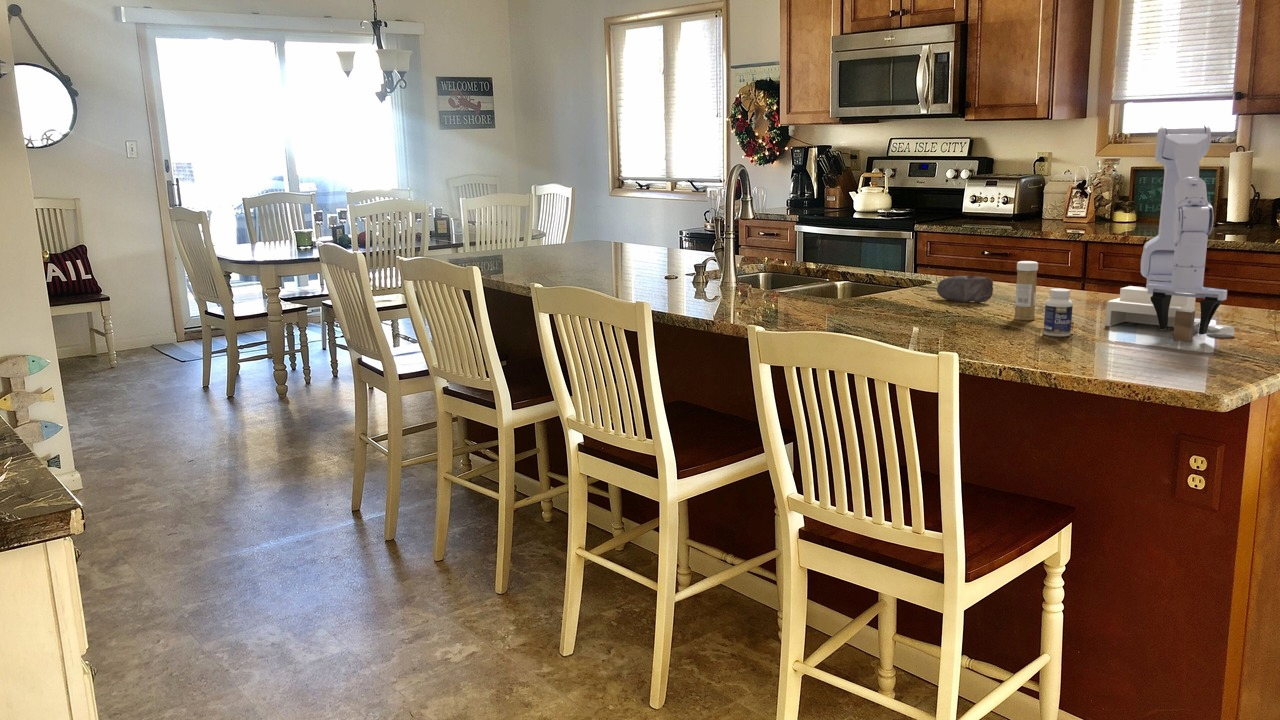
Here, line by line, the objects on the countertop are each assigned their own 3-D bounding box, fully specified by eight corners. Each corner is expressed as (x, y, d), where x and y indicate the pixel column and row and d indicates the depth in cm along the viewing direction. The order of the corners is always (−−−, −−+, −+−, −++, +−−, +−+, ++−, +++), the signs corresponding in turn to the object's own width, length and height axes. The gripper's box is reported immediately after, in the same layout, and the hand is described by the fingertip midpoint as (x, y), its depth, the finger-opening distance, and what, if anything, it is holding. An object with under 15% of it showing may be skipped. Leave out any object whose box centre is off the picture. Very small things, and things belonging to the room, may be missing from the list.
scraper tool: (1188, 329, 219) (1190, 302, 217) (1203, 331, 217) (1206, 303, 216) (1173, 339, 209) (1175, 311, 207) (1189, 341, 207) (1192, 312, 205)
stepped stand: (1122, 320, 231) (1125, 285, 229) (1192, 328, 220) (1196, 291, 218) (1105, 325, 225) (1108, 290, 223) (1176, 334, 214) (1180, 296, 212)
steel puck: (1208, 333, 215) (1209, 324, 215) (1235, 335, 212) (1236, 326, 212) (1203, 337, 212) (1204, 327, 211) (1231, 339, 209) (1232, 330, 208)
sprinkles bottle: (1038, 319, 234) (1042, 261, 231) (1026, 321, 231) (1030, 263, 229) (1021, 316, 238) (1025, 259, 235) (1009, 319, 235) (1012, 261, 232)
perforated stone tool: (931, 300, 265) (932, 273, 264) (942, 297, 268) (943, 271, 267) (983, 306, 254) (984, 278, 252) (994, 303, 257) (995, 276, 256)
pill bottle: (1054, 337, 213) (1057, 292, 211) (1037, 333, 218) (1040, 288, 216) (1076, 336, 214) (1079, 290, 212) (1059, 331, 219) (1062, 287, 217)
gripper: (1143, 264, 208) (1138, 329, 211) (1220, 270, 197) (1213, 338, 200) (1157, 261, 212) (1151, 325, 215) (1233, 267, 202) (1226, 333, 205)
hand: (1182, 331), depth 208 cm, fingers open, 7 cm apart
